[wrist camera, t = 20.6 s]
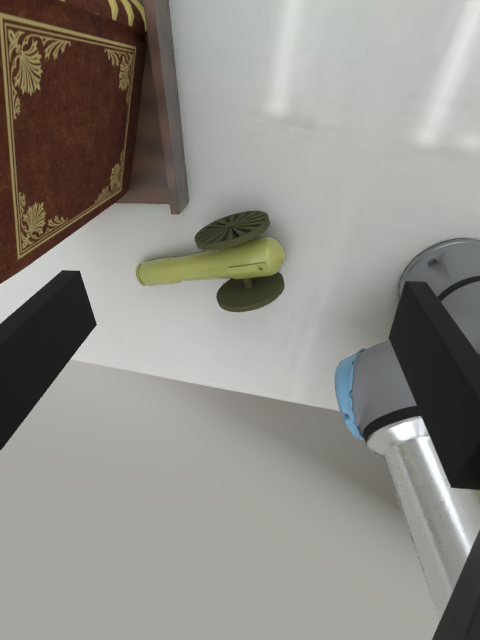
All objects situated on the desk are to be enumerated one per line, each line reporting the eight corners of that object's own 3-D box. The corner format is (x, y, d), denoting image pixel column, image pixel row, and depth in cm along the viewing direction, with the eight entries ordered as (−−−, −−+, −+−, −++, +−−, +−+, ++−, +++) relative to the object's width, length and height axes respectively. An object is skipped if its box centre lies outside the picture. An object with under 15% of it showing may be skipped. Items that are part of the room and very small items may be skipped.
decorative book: (84, -26, 38) (-265, -215, 14) (153, 2, 39) (-62, -131, 15) (78, 175, 51) (-109, 261, 27) (130, 193, 52) (-5, 293, 27)
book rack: (189, 202, 53) (179, 214, 48) (78, 200, 54) (58, 212, 50) (163, -49, 37) (145, -69, 32) (10, -41, 39) (-29, -58, 34)
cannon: (158, 297, 63) (137, 334, 54) (130, 238, 57) (101, 268, 48) (292, 269, 58) (294, 305, 48) (276, 199, 51) (275, 225, 42)
